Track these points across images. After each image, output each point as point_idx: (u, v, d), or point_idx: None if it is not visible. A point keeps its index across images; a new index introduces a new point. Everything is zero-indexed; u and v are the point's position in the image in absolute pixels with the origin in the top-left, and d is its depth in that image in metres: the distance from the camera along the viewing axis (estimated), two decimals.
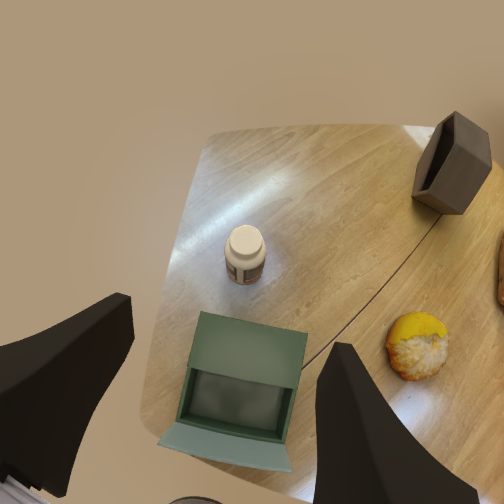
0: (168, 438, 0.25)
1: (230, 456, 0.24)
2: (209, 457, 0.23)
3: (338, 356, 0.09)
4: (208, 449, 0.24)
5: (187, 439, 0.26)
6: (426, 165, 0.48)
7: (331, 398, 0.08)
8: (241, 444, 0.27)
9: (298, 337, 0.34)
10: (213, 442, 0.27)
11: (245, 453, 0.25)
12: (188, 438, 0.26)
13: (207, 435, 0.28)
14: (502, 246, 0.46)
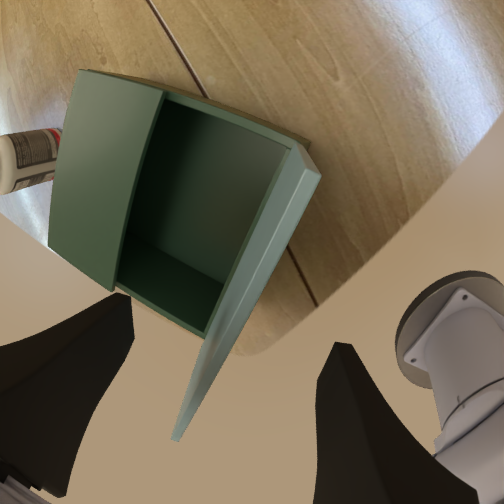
0: (181, 409, 0.13)
1: (219, 334, 0.10)
2: (201, 388, 0.10)
3: (338, 356, 0.09)
4: (204, 362, 0.11)
5: (195, 374, 0.13)
6: None
7: (331, 398, 0.08)
8: (244, 258, 0.13)
9: (80, 86, 0.14)
10: (216, 324, 0.13)
11: (241, 277, 0.10)
12: (197, 368, 0.13)
13: (217, 316, 0.15)
14: None
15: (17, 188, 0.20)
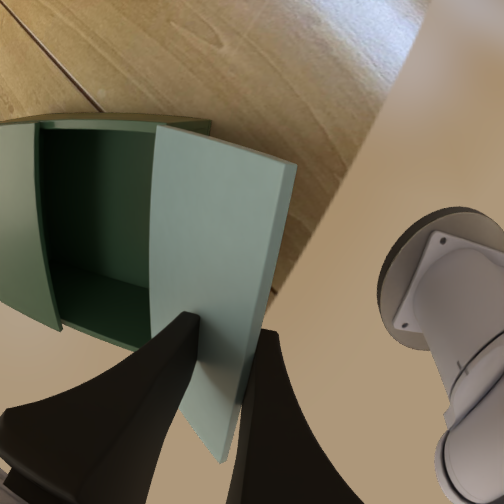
0: (202, 435, 0.12)
1: (221, 356, 0.09)
2: (235, 408, 0.09)
3: None
4: (207, 386, 0.10)
5: (190, 399, 0.12)
6: None
7: (248, 385, 0.08)
8: (169, 269, 0.11)
9: None
10: None
11: (200, 293, 0.09)
12: (186, 393, 0.12)
13: None
14: None
15: None
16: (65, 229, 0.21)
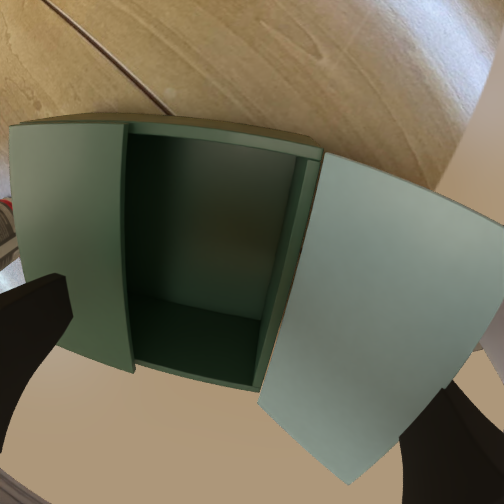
0: (331, 463, 0.11)
1: (408, 393, 0.08)
2: None
3: None
4: (369, 420, 0.09)
5: (327, 432, 0.11)
6: None
7: None
8: (336, 313, 0.10)
9: (16, 146, 0.10)
10: (332, 386, 0.11)
11: (394, 339, 0.08)
12: (322, 428, 0.11)
13: (298, 375, 0.12)
14: None
15: None
16: None
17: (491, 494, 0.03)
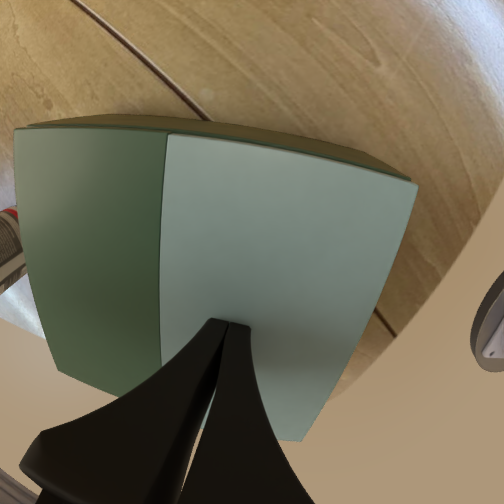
0: None
1: None
2: None
3: None
4: None
5: None
6: None
7: None
8: None
9: (22, 155, 0.08)
10: None
11: None
12: None
13: None
14: None
15: None
16: None
17: None
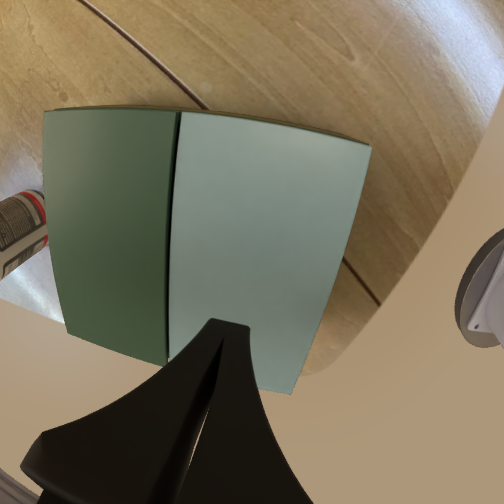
0: None
1: None
2: None
3: None
4: None
5: None
6: None
7: None
8: None
9: (52, 132, 0.10)
10: None
11: None
12: None
13: None
14: None
15: (7, 272, 0.17)
16: None
17: None
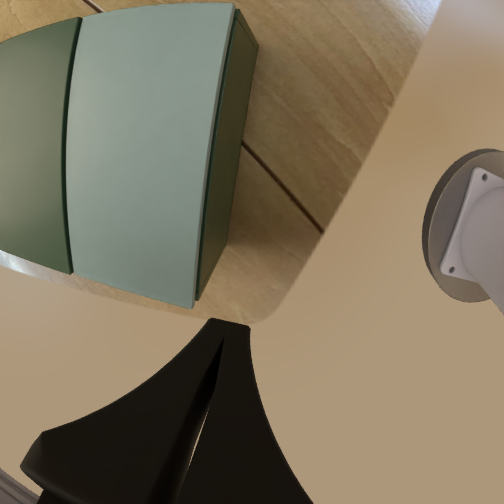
0: None
1: None
2: None
3: None
4: None
5: None
6: None
7: None
8: None
9: None
10: None
11: None
12: None
13: None
14: None
15: None
16: None
17: None
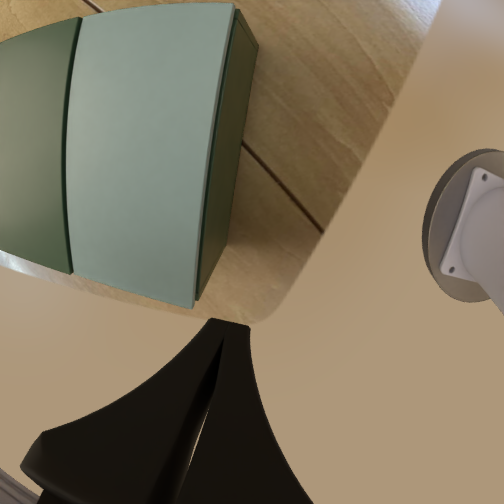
0: None
1: None
2: None
3: None
4: None
5: None
6: None
7: None
8: None
9: None
10: None
11: None
12: None
13: None
14: None
15: None
16: None
17: None
